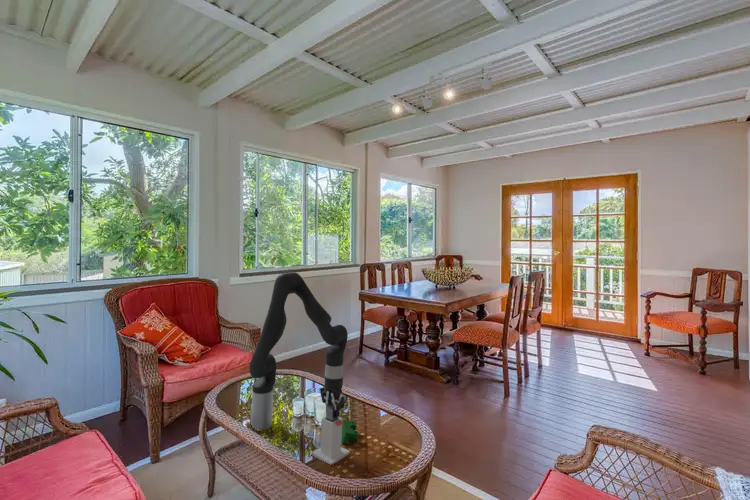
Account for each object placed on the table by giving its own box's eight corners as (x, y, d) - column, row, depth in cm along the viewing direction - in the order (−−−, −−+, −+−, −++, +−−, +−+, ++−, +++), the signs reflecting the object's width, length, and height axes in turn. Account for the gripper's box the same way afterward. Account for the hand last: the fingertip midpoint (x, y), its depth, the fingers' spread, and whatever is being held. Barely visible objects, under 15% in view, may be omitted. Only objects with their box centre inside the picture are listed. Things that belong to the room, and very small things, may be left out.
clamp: (352, 452, 161) (359, 438, 157) (339, 450, 160) (346, 436, 156) (352, 428, 172) (358, 415, 168) (339, 426, 170) (345, 412, 167)
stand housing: (311, 454, 150) (313, 418, 150) (330, 443, 159) (332, 409, 158) (330, 466, 144) (332, 428, 143) (349, 453, 152) (351, 418, 152)
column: (324, 451, 151) (326, 404, 150) (330, 447, 154) (332, 401, 153) (330, 455, 149) (332, 407, 148) (337, 451, 152) (339, 404, 151)
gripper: (315, 372, 151) (313, 413, 152) (340, 382, 143) (338, 425, 143) (328, 367, 157) (326, 407, 158) (353, 376, 149) (351, 418, 149)
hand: (332, 415), depth 151 cm, fingers closed on column, 3 cm apart
